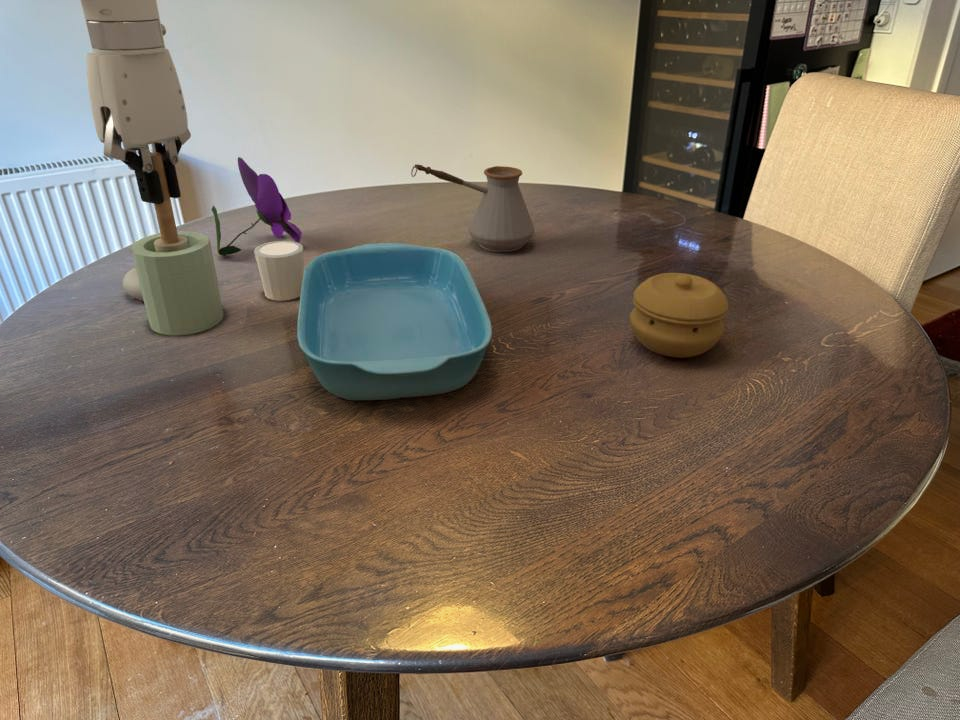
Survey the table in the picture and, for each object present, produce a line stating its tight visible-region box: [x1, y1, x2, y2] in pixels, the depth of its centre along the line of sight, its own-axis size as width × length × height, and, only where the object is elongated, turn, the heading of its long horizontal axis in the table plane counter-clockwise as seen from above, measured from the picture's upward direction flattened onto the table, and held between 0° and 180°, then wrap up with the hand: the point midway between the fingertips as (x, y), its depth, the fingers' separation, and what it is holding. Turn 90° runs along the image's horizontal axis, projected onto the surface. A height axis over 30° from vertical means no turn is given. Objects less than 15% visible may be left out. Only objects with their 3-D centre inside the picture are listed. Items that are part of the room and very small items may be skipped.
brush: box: [150, 151, 189, 252], centre depth 89 cm, size 4×4×16 cm
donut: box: [121, 266, 144, 302], centre depth 103 cm, size 10×4×10 cm
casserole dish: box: [296, 242, 493, 402], centre depth 89 cm, size 37×22×7 cm, turn 10°
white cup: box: [253, 240, 305, 302], centre depth 102 cm, size 7×7×7 cm
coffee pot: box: [410, 164, 535, 253], centre depth 118 cm, size 21×12×15 cm, turn 109°
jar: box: [130, 230, 224, 336], centre depth 93 cm, size 9×9×11 cm
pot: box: [629, 272, 729, 359], centre depth 89 cm, size 12×12×10 cm
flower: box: [211, 156, 303, 258], centre depth 116 cm, size 15×15×14 cm
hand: (161, 198), depth 87 cm, fingers closed on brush, 2 cm apart
